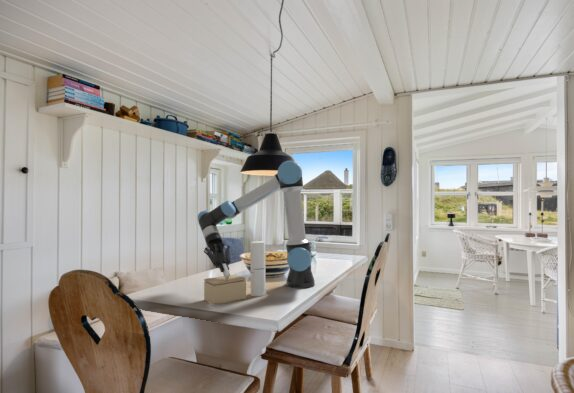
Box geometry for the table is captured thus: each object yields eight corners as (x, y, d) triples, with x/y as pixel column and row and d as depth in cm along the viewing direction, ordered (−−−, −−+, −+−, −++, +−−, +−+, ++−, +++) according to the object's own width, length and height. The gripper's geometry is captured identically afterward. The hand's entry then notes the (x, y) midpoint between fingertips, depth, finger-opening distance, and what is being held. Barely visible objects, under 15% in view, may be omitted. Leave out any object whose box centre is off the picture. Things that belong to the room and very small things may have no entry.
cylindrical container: (262, 296, 152) (262, 242, 153) (248, 295, 154) (248, 242, 155) (267, 292, 159) (267, 241, 160) (253, 292, 161) (253, 241, 161)
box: (204, 299, 148) (204, 282, 148) (235, 293, 157) (235, 277, 158) (213, 304, 140) (213, 286, 140) (246, 298, 149) (246, 280, 150)
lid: (204, 281, 148) (204, 278, 148) (234, 276, 158) (234, 274, 158) (213, 285, 140) (213, 282, 140) (245, 280, 150) (245, 277, 150)
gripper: (222, 241, 166) (237, 280, 152) (197, 242, 158) (211, 284, 144) (227, 231, 162) (243, 270, 148) (201, 232, 154) (216, 273, 140)
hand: (227, 277), depth 146 cm, fingers closed
